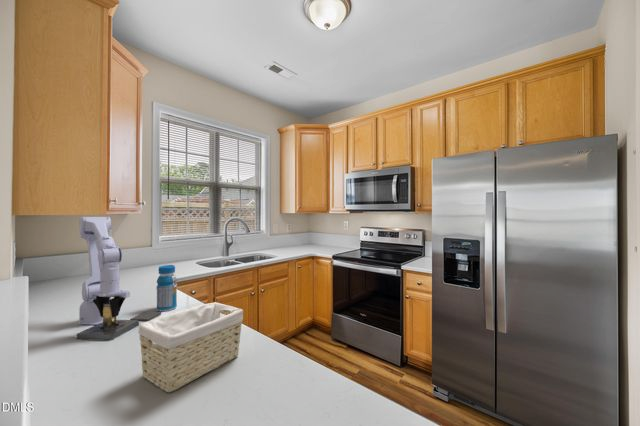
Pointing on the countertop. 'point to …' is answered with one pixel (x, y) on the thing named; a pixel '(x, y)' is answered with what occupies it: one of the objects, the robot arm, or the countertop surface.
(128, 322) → the housing
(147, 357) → the storage basket
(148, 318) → the mat
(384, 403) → the countertop surface
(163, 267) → the blue bottle
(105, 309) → the cylindrical knob
